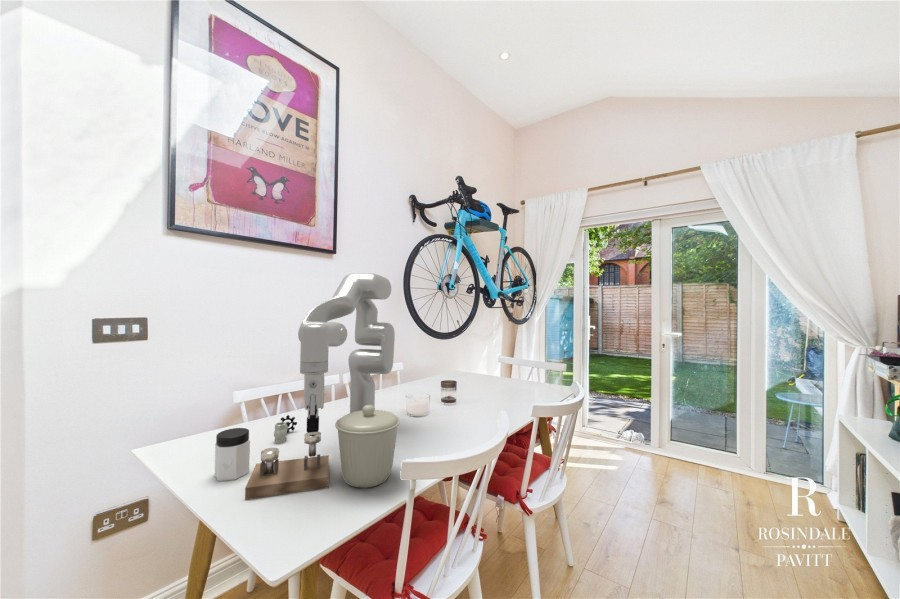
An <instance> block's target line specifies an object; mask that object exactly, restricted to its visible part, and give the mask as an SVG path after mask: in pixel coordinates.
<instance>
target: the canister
mask: <svg viewBox="0 0 900 599" xmlns="http://www.w3.org/2000/svg"><path fill="white" fill-rule="evenodd" d="M400 424H401V419H400V418H399V416H397V415H395V414H394V413H392V412H390V411H386V410H382V409H376V408H374V406H373V405H365V406H364V407H363V409H362V410H361V411H355V412H352V413H350V412H349V413H346V414H344V415H343V416H342V417H340V418H338V419H337V420H336V421H335V424H334V427H335V429H336V430H337V434H338V435H337V437H338V438H337V439H338V446H339V459H340V465H341V473H342V477H343V479H344V481H345V482H346V483H347V484H348V485H350V486H351V487H355V488H361V489H364V488H365V489H366V488H373V487H376V486H378V485H382V484H383V483H384V482H385V481H387V479H388V478H389V477H390V475H391V473H392V468H393V463H394V457H395V449H396V443H397V433H398V426H399V425H400Z"/></svg>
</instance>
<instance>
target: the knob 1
mask: <svg viewBox="0 0 900 599" xmlns="http://www.w3.org/2000/svg"><path fill="white" fill-rule="evenodd" d="M279 454H280V451H279V448H278V447H270V448H269V447H268V448H264V449H263V450H261V451H260V461H261V462H262V461H263V462H265V463H266V467H265V474H272V473H273V472H274V462H275V460H276V459H279V457H280V455H279Z"/></svg>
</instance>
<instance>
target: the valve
mask: <svg viewBox="0 0 900 599" xmlns="http://www.w3.org/2000/svg"><path fill="white" fill-rule="evenodd" d="M285 417H286V418H285ZM285 417H284V416H283V417H280V421H281V422H280V421H279V422H276V423H275V424H274V431H273V436H274V444H275V445H277V444H278V445H279V444H280V445H281V444H285V443H286V441H287V435H288V433H290V430H291V431H295V429H296V428H295V426H297V425H298V422H297V421H295V419H296V417H295V416H292V417H291V416H290V415H289V414H287V415H286V416H285ZM285 421H286V422H285Z"/></svg>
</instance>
